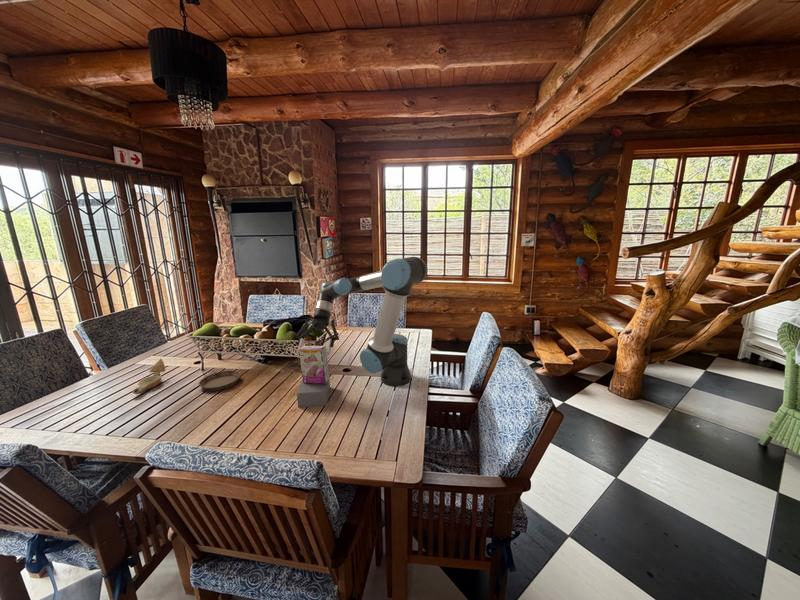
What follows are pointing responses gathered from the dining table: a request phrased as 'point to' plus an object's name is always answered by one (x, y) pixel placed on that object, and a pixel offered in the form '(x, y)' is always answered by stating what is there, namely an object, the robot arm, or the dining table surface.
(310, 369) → the candy bar box
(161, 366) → the oil lamp
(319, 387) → the charcoal block
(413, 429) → the dining table surface
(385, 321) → the robot arm
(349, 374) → the dining table surface
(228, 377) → the plant saucer
